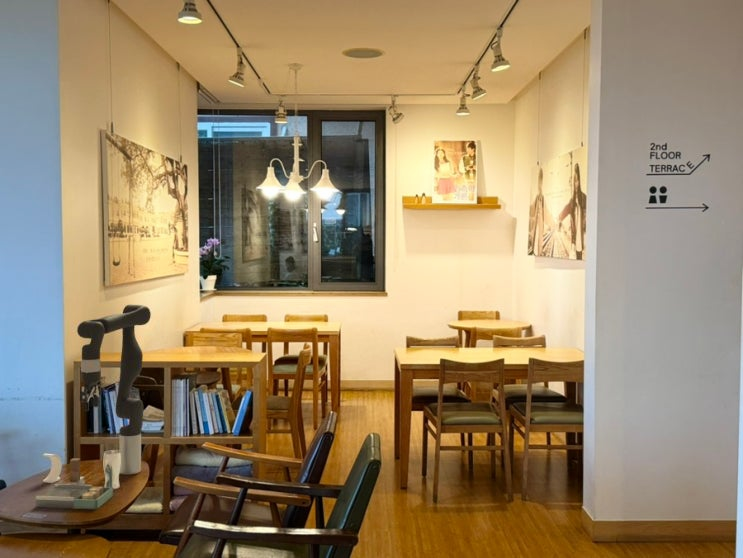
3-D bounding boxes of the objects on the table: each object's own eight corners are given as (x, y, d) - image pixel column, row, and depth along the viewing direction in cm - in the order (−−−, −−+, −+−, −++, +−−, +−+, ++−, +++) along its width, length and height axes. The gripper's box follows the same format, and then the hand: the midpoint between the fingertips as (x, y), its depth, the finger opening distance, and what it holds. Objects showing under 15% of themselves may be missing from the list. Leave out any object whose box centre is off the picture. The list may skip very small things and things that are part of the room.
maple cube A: (93, 486, 277) (103, 486, 277) (93, 496, 277) (103, 496, 277) (88, 489, 273) (98, 490, 273) (88, 499, 273) (98, 500, 273)
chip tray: (91, 495, 280) (91, 486, 280) (113, 496, 279) (113, 487, 279) (73, 508, 265) (73, 499, 265) (96, 509, 265) (96, 500, 264)
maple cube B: (86, 491, 271) (96, 492, 271) (86, 501, 271) (96, 502, 271) (81, 495, 267) (92, 495, 267) (81, 505, 267) (92, 505, 267)
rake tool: (77, 483, 294) (77, 455, 294) (84, 483, 294) (84, 455, 294) (65, 492, 283) (65, 463, 283) (72, 492, 283) (72, 463, 283)
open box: (55, 493, 281) (55, 483, 281) (91, 495, 280) (91, 484, 280) (35, 507, 266) (35, 496, 266) (73, 508, 265) (73, 497, 265)
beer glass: (120, 489, 288) (120, 453, 287) (102, 490, 285) (102, 454, 285) (121, 484, 294) (121, 449, 294) (103, 485, 292) (103, 450, 292)
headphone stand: (43, 481, 295) (43, 454, 295) (52, 477, 301) (52, 450, 300) (52, 483, 294) (52, 455, 293) (61, 478, 300) (61, 451, 299)
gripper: (90, 366, 291) (89, 405, 291) (73, 372, 277) (73, 412, 277) (107, 367, 290) (107, 405, 291) (91, 373, 276) (91, 413, 277)
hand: (90, 408), depth 284 cm, fingers open, 8 cm apart
